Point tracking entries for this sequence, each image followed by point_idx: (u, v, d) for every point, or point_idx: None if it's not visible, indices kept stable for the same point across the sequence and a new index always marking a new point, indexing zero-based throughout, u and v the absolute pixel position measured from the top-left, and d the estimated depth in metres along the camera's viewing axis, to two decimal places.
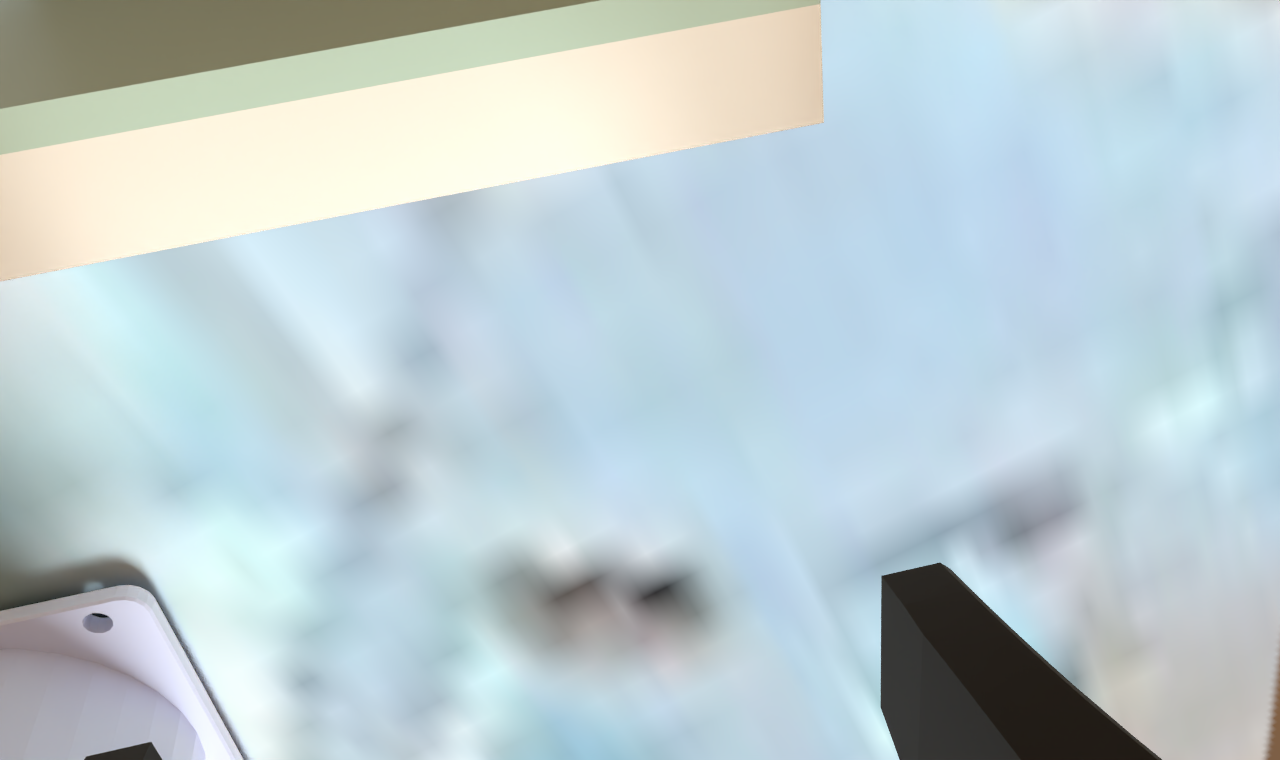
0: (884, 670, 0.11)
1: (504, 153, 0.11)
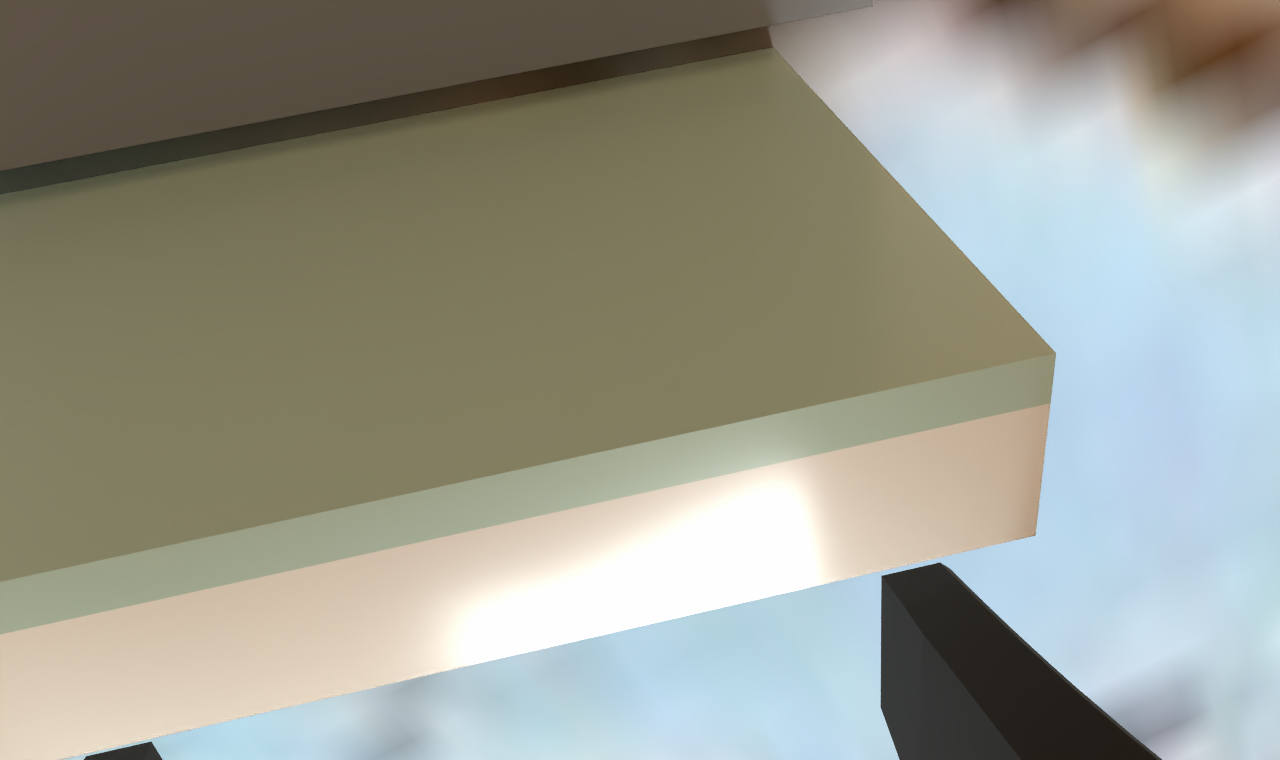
0: (884, 670, 0.11)
1: (590, 604, 0.07)
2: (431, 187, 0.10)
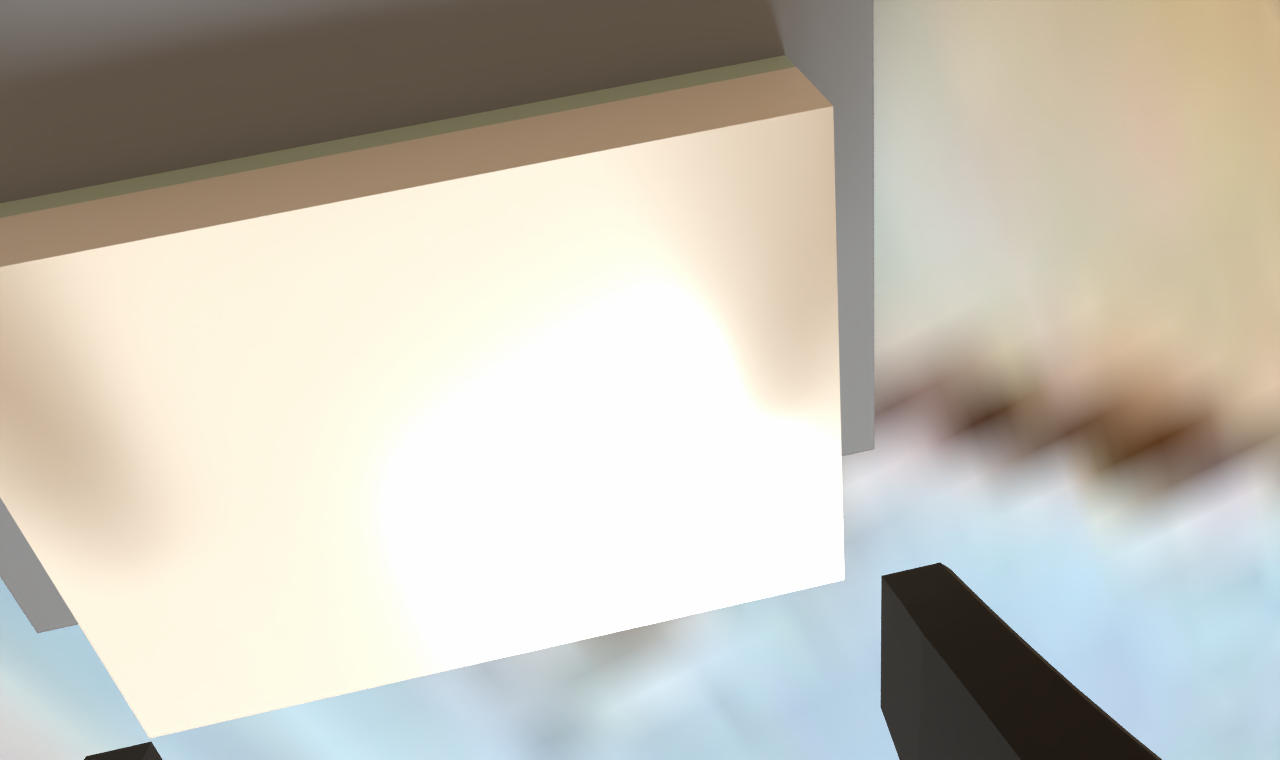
0: (884, 670, 0.11)
1: (500, 157, 0.11)
2: None
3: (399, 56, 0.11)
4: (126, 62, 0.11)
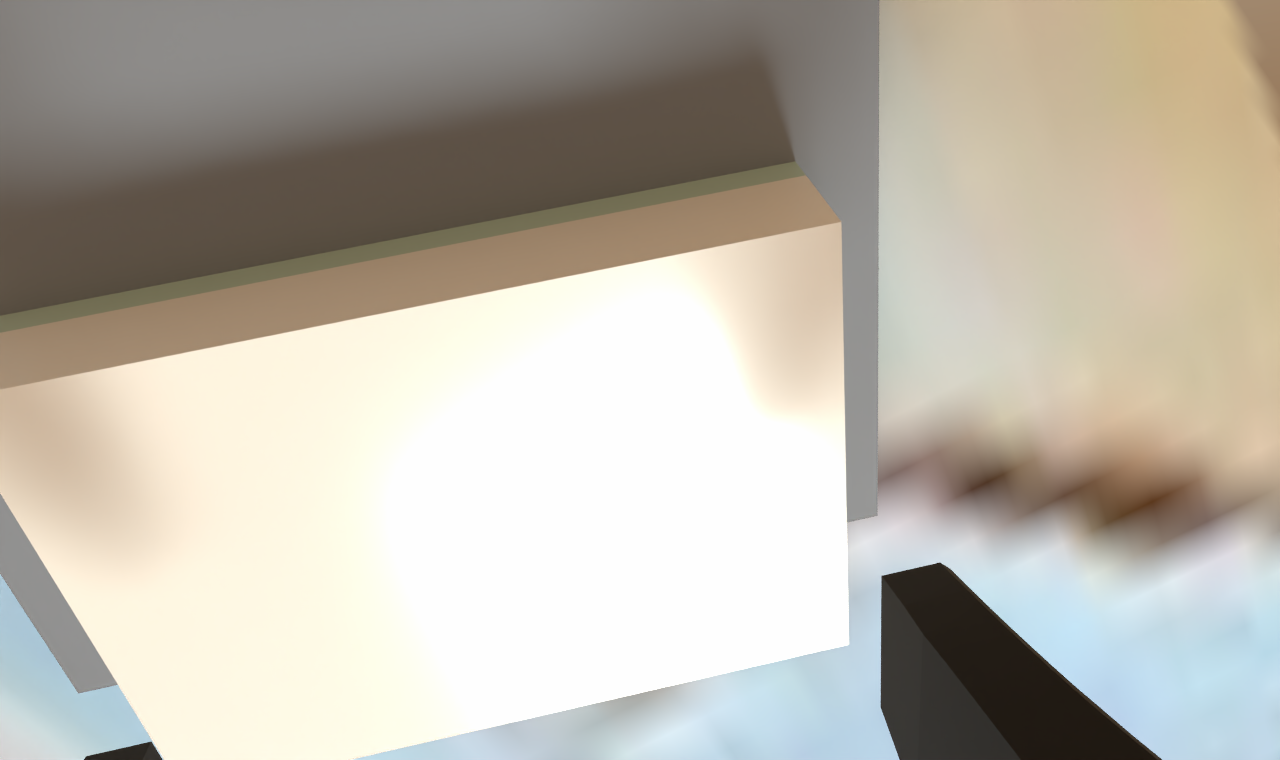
0: (884, 670, 0.11)
1: (528, 269, 0.11)
2: None
3: (432, 168, 0.12)
4: (177, 177, 0.11)
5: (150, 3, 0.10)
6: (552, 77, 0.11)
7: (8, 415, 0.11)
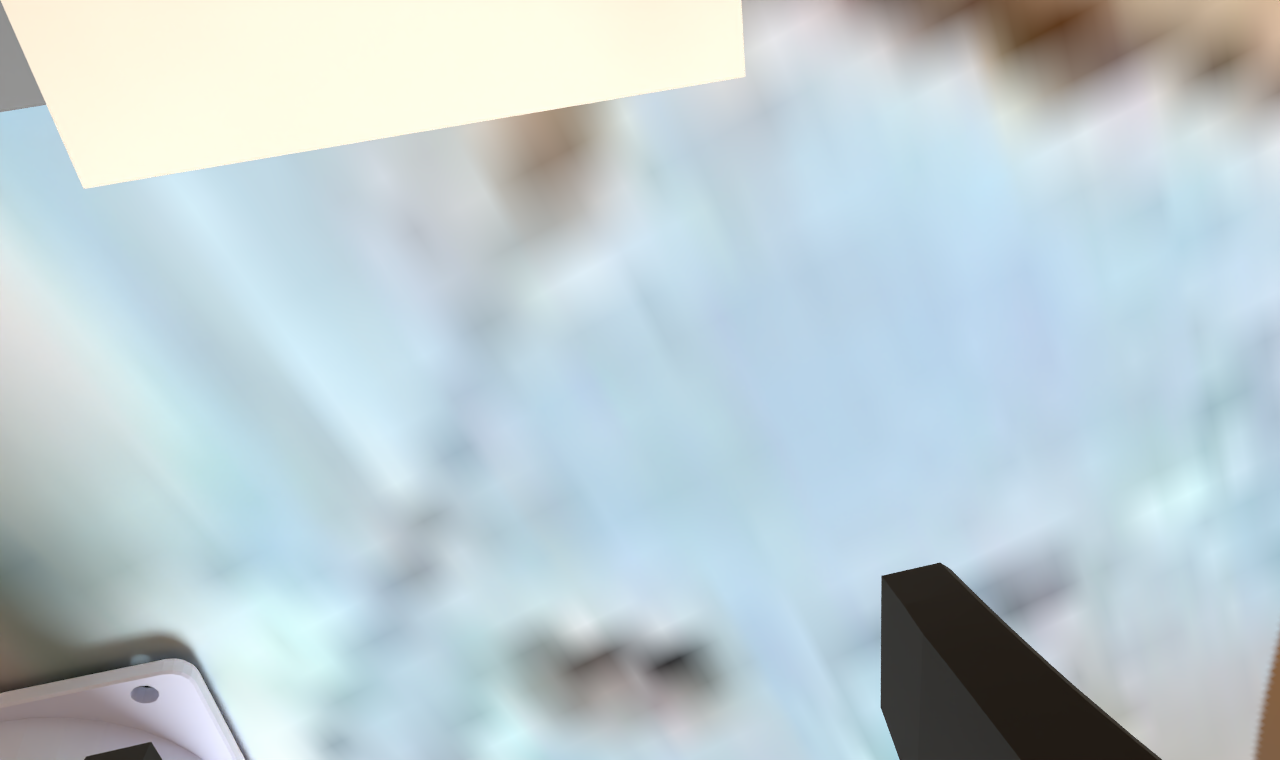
0: (884, 670, 0.11)
1: None
2: None
3: None
4: None
5: None
6: None
7: None
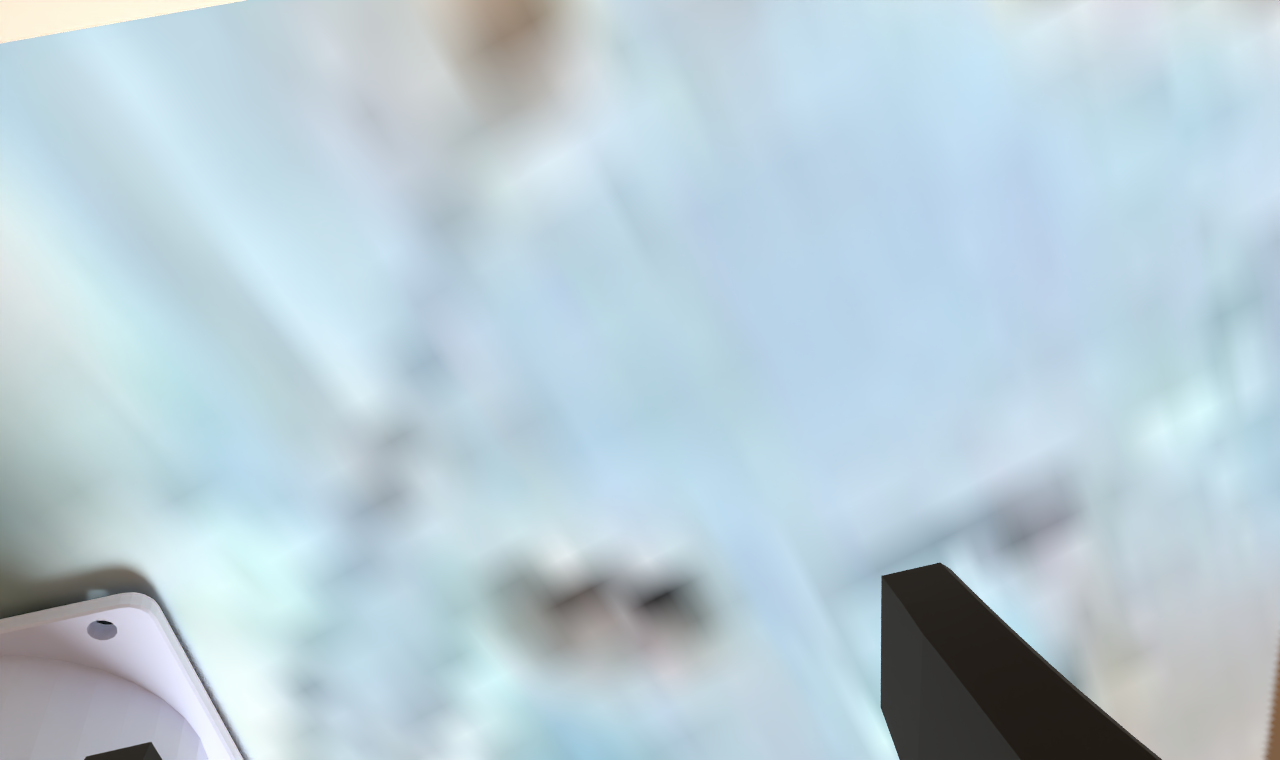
0: (884, 670, 0.11)
1: None
2: None
3: None
4: None
5: None
6: None
7: None
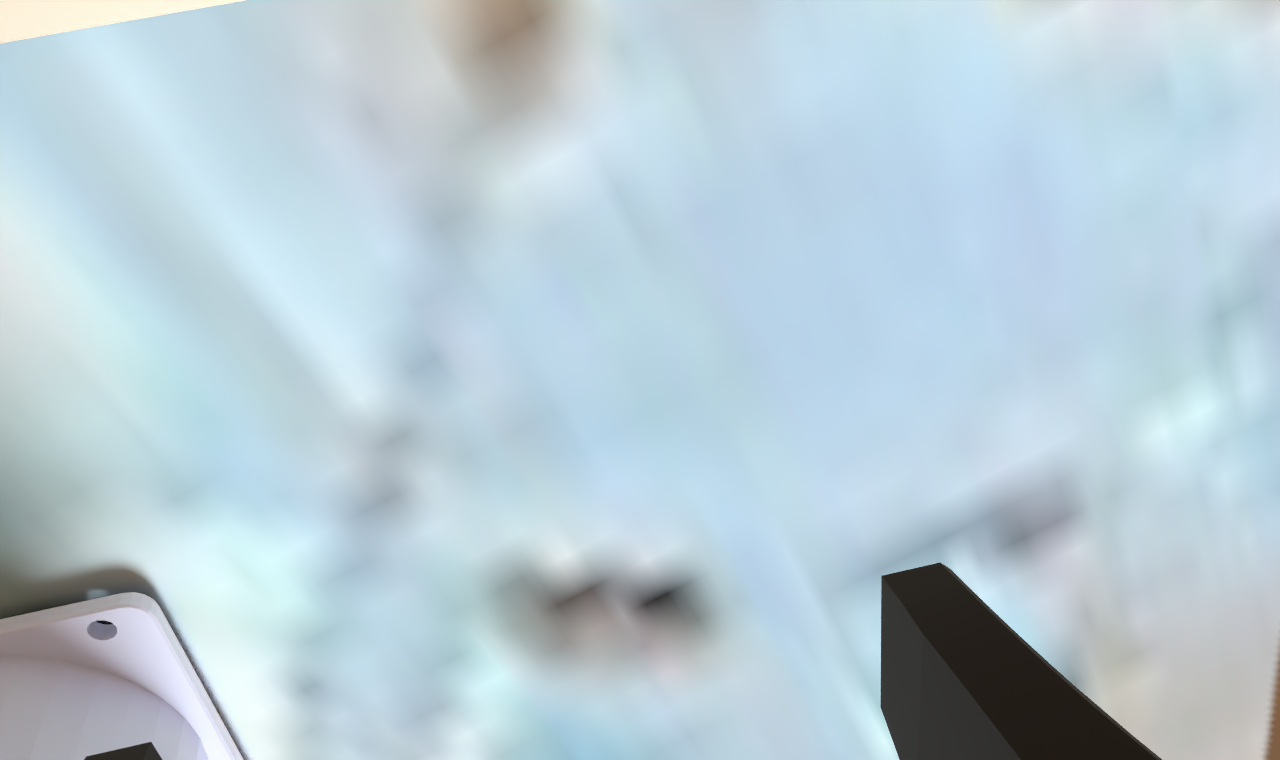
0: (884, 670, 0.11)
1: None
2: None
3: None
4: None
5: None
6: None
7: None
